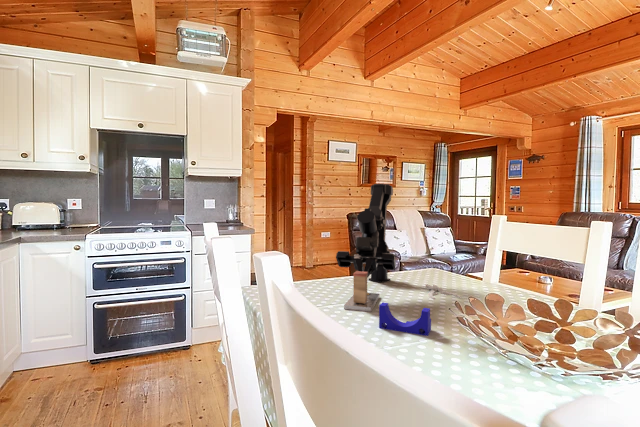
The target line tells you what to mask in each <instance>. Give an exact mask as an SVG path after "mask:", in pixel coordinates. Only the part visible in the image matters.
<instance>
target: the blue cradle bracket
mask: <svg viewBox="0 0 640 427" xmlns="http://www.w3.org/2000/svg"><path fill="white" fill-rule="evenodd" d="M389 305H390V304H389V302H381V303H380V304H379V305H378V306H379V307H378V308H379V309H378V310H379V311H378V329H382V330H389V331H395V332H402V333H408V334H413V335H419V336H425V337H428V336H429V334H430V333H431V330H432V319H431V308H428V307H423V308H422V310H421V313H420V317H419V318H417V319H415V320H412V321H410V320H409V321H406V322H404V321H401V320H399V319H397V318H396V317H395V315H393V314H392V312H391V310H390V306H389Z"/></svg>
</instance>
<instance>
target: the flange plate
mask: <svg viewBox="0 0 640 427" xmlns="http://www.w3.org/2000/svg"><path fill="white" fill-rule="evenodd" d="M379 297H380V293H374V292H373V293H372V292H367V301H366V303H354V302H353V300H354V294H352V295H351V297H350V298H349V299H348V300H347V301H346V302H345V303H344V305H343V310H351V311H361V312H369V313H370V312H372V311H373V310H374V307H375V306H376V304H377V303H378V300H380V298H381V297H380V298H379ZM376 302H377V303H376ZM374 305H375V306H374Z"/></svg>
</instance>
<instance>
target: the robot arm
mask: <svg viewBox="0 0 640 427" xmlns="http://www.w3.org/2000/svg"><path fill="white" fill-rule="evenodd" d="M393 194H394V188H393V186H392V185H390V183H385V184H384V183H373V184H372V185H370V200H369V205H368V208H364V210H362V211H360V212H359V213H358V214H357V216H356V219H357V224H358V227H359V228H358V229H359V232H360V233H361V236H356V238H355V246H354V247H355V248H356V249H355V253H356V254H354V255H351V253H350V251H344V250H338V251H337V252H336V255H335V259H336V262H337V265H338V267H339V268H349V267H350V268H351V266H352V263H353V267H354V270H355V271H361V272H368V275H367V281H371V282H376V283H384V282H389V281H391V280H392V279H391V278H388V271H395V270H396V265H397V263H396V256H395V254H394V253H391V251H390V249H389V248H390V247H389V246H388V244H387V242H386V229H387V213H388V212H387V210H388V207H387V206H388V205H389V204H390V203H391V200H392V196H393ZM364 264H365V266H364ZM369 277H370V278H369Z"/></svg>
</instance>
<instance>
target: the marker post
mask: <svg viewBox="0 0 640 427" xmlns="http://www.w3.org/2000/svg"><path fill="white" fill-rule="evenodd" d="M367 275H368V272H361V271H358V270H355V272H353V276H352V277H353V295H354V300H353V302H354V303H366V301H367V293H368V278H367Z"/></svg>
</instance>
